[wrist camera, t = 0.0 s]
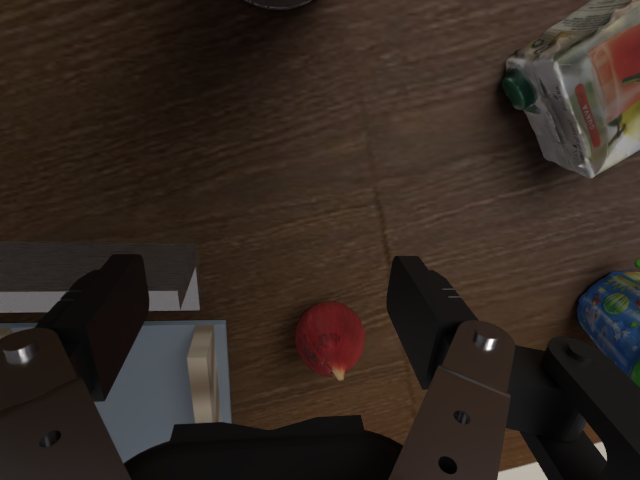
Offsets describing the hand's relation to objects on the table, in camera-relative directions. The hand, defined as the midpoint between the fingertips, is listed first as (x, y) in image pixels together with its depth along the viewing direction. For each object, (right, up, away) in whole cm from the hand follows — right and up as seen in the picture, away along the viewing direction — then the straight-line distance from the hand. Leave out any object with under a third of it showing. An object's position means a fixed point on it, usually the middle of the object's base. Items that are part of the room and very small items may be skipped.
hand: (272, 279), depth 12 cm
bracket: (-17, -1, +19) cm, 25 cm away
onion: (+2, -5, +23) cm, 23 cm away
